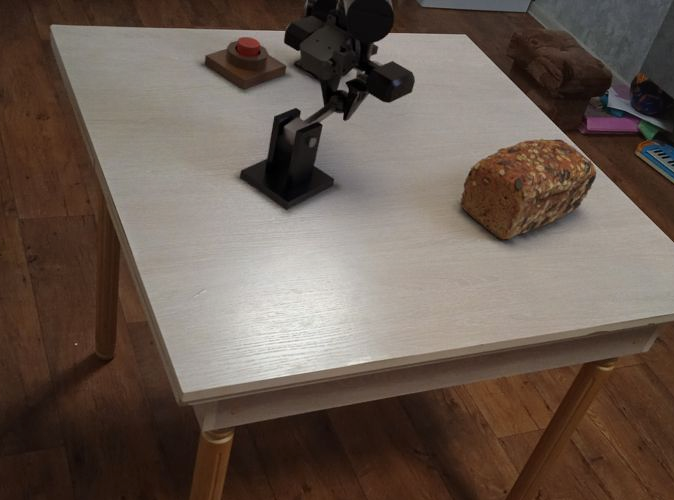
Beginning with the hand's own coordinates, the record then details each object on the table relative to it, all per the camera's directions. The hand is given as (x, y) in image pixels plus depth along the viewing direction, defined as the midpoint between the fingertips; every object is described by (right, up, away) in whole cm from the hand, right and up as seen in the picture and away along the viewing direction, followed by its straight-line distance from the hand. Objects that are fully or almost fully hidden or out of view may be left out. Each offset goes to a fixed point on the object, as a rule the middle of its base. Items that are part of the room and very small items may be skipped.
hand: (336, 114), depth 117 cm
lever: (-2, -2, -2) cm, 4 cm away
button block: (-15, +13, +20) cm, 29 cm away
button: (-15, +15, +18) cm, 28 cm away
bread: (+27, -12, +8) cm, 31 cm away
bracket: (-7, -10, 0) cm, 12 cm away
